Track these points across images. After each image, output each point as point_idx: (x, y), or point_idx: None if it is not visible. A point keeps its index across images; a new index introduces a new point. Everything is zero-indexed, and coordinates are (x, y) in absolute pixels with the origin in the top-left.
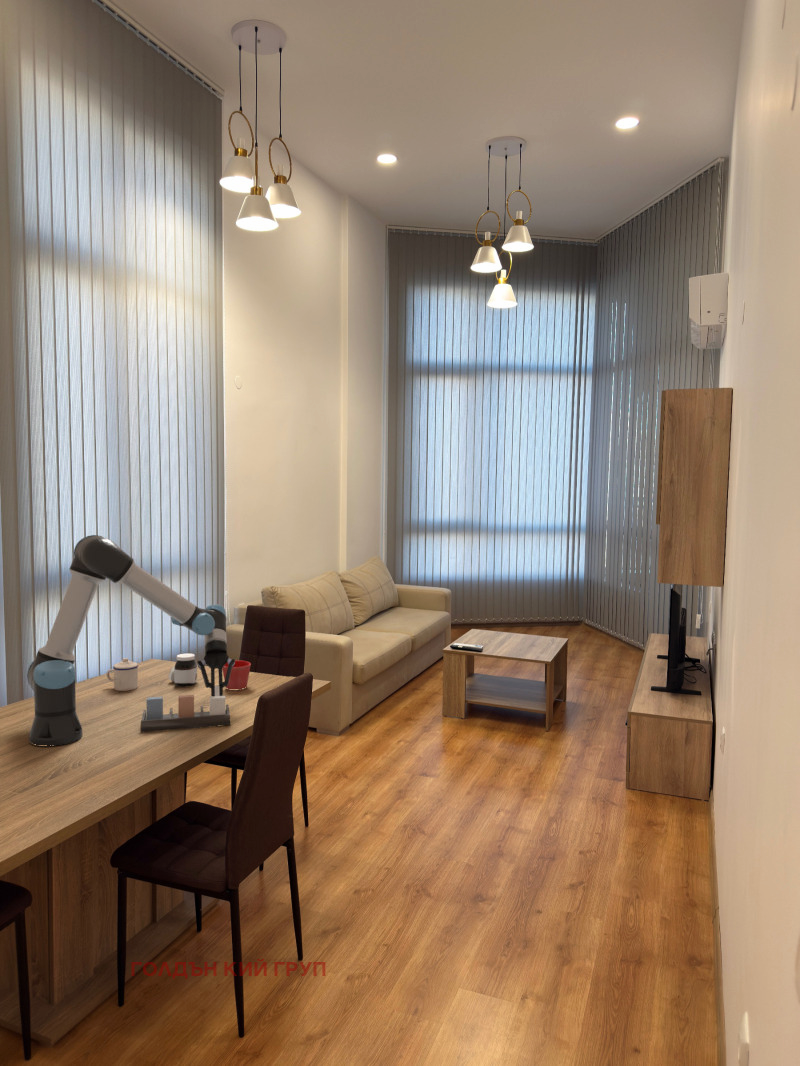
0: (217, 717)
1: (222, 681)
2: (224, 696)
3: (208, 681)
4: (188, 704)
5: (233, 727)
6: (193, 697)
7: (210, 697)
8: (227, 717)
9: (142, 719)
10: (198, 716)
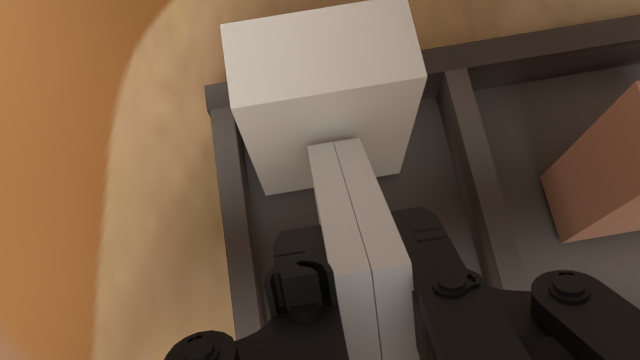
0: None
1: (274, 349)
2: (234, 76)
3: (561, 308)
4: None
5: (195, 84)
6: (637, 86)
7: (408, 44)
8: None
9: None
10: (485, 62)
